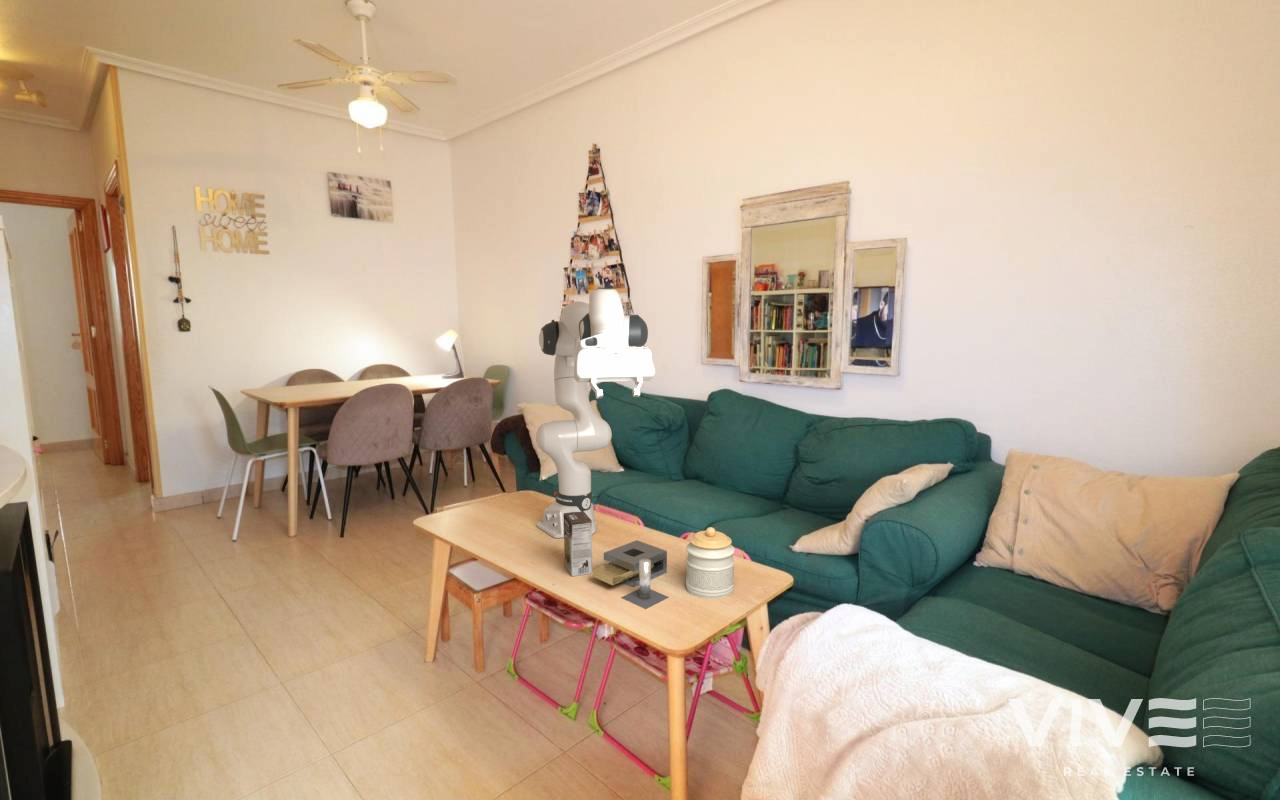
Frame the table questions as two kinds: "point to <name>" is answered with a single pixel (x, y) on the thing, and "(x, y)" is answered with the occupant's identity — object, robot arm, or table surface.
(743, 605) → the table surface
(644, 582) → the pin
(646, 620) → the table surface
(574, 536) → the coffee box
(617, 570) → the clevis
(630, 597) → the mat
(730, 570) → the jar
